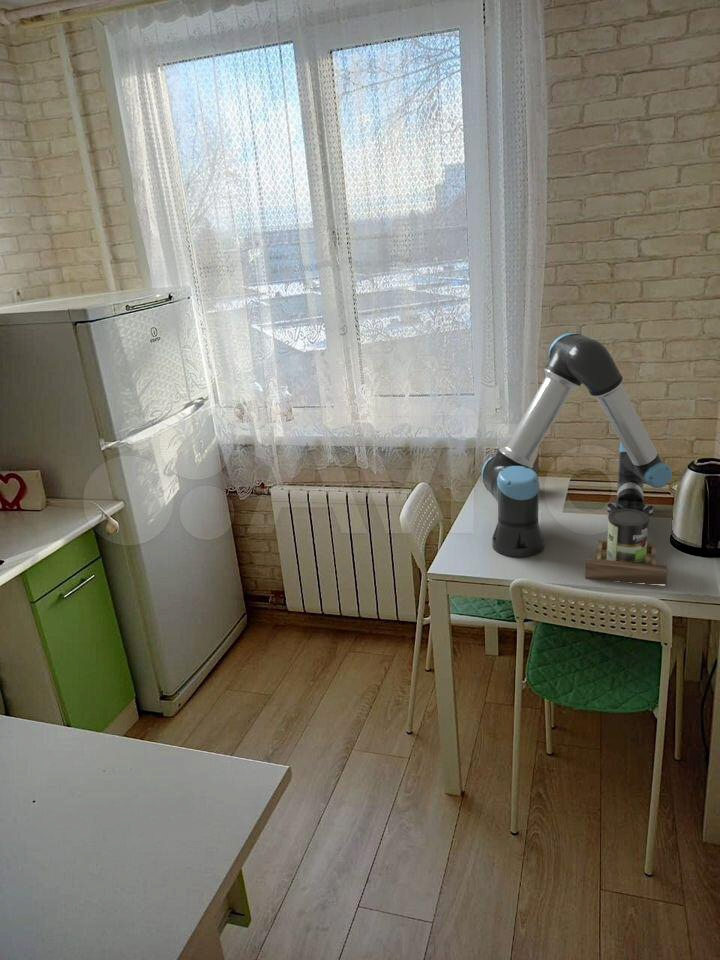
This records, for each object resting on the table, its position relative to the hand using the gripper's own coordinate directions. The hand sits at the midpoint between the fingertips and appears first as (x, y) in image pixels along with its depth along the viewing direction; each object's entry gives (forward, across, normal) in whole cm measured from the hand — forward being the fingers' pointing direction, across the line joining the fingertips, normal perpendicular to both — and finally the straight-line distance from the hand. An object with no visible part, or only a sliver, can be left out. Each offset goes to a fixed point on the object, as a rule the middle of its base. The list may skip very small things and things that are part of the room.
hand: (629, 531), depth 197 cm
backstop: (+13, +1, -9) cm, 15 cm away
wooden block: (-44, +34, -9) cm, 57 cm away
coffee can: (+5, +1, -7) cm, 9 cm away
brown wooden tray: (+4, +1, -8) cm, 9 cm away
